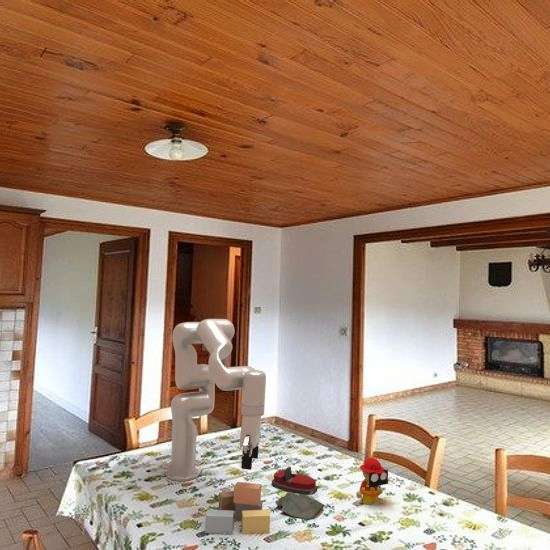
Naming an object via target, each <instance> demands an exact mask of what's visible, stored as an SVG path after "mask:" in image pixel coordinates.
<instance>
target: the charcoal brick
mask: <svg viewBox="0 0 550 550" xmlns="http://www.w3.org/2000/svg"><path fill="white" fill-rule="evenodd" d="M247 510H263V500H262V499H261V501H260V503H259V505H258V506H257V505H248V504H239V503H235V511H234V520H235V519H236V521H242V511H247Z"/></svg>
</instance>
